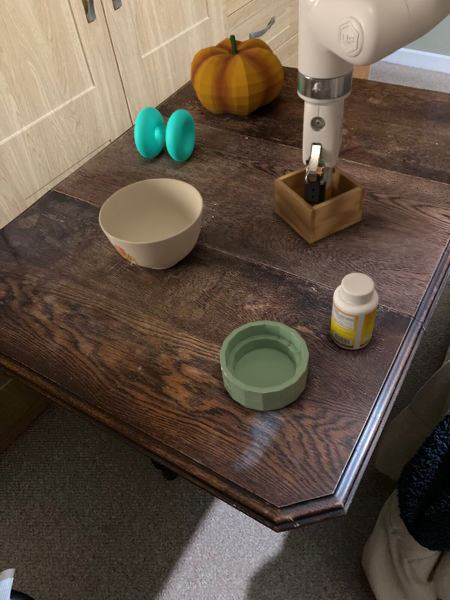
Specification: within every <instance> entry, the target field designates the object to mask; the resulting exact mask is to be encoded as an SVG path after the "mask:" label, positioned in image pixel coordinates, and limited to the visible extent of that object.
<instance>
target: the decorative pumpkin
mask: <svg viewBox="0 0 450 600" xmlns="http://www.w3.org/2000/svg"><path fill="white" fill-rule="evenodd" d="M284 80H285V74H284V68H283V65H282V61H280V59H279V57H278V56H277V55H276V54H275V53H274V52H273V49H272V48H271V46H269V44H267V43H266V42H265V41H264V40H262V39H261V38H259V37H258V38H250V39H246V40H243V41H241V40H238V39H236V36H235V35H234V34H230V35H229V37H225V38H224V39H223V40H220V41H219V42H218V43H217V44H216V45H211V46H207V47H205V48H200V49H199V51H198V52H196V53H195V54H194V56H193V58H192V60H191V63H190V81H191V84H192V88H193V90H194V91H195V93H196V97H197V99H198V100H199V101H200V103H201V104H202V105H203V107H204V108H205V109H206V110H207V111H209V112H211V113H212V114H234V115H237V116H248V115H250V114H251V113H254V112H255V111H256V110H258V109H259V108H261V107H263V106H266V105H268V104H270V103H271V102H272V101H274V100H275V99H276V98H277V97H278V96H279V94H281V93H280V92H281V91H282V89H283V85H284Z"/></svg>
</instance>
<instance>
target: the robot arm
mask: <svg viewBox="0 0 450 600" xmlns="http://www.w3.org/2000/svg"><path fill="white" fill-rule="evenodd" d="M449 15H450V0H298V29H297V30H298V31H297V33H298V38H297V39H298V40H297V85H296V86H297V90H296V91H297V92H296V93H297V95H298V97H299V98H301V99H302V100H304V104H303V105H304V107H303V108H304V109H303V125H302V127H303V128H302V163H303V165H304V166H305V167H306V166H307V171H306V180H305V189H304V200H305V201H306V202H307V203H313V204H320V203H323V202H325V191H326V181H324V179H325V171H326V167H330V168H333V167H334V166H337V165H336V164H337V161H338V158H339V154H340V151H341V146H342V141H343V130H344V126H343V125H344V114H345V99H347V98H348V97H349V96H350V95H351V94H352V89H353V81H354V79H353V78H354V70H355V69H354V68H355V66H357V67H358V66H359V67H366V66H371V65H375V63H378V62H380V61H382V60H383V59H386V58H388V57H389V56H390V55H392V54H394V53H396V52H398V51H399V50H400V49H401V50H402V48H404V47H406V46H408V45H410V44H411V43H413V42H415V41H417V40H419V39H421V38H422V37H424V36H426V35H427V34H429V32H431V31H432V30H433V29H434V28H436V27H437V26H438V25H439V24H440V23H441V22H442V21H444V20H445V19H446V18H447V17H448V16H449ZM320 159H323V161H324V162H323V163H319V160H320ZM318 167H322V170H321V176H320V174H318Z"/></svg>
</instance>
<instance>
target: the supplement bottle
mask: <svg viewBox="0 0 450 600" xmlns="http://www.w3.org/2000/svg"><path fill="white" fill-rule="evenodd" d="M378 305H379V293H378V292H377V290H376V289H375V282H374V280H373V279H372V277H370V276H369V275H367V274H365V273H361V272H351V273H348V274H346V275H345V276H344V277H343V278H342V280H341V284H339V286H337V287H336V288H335V290H334V293H333V298H332V308H331V309H332V310H331V319H330V332H329V333H330V337H331V339H332V340H333V342H334V343H335V344H336V345H337V346H339V347H340V348H342V349H346V350H359V349H362V348H364V347H365V346H367V345H368V344H369V343H370V341H371V339H372V336H373V332H374V327H375V323H376V322H375V321H376V316H377V311H378Z"/></svg>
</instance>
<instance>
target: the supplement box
mask: <svg viewBox="0 0 450 600" xmlns="http://www.w3.org/2000/svg"><path fill="white" fill-rule="evenodd" d="M323 162H324V161H323V159H320V160H319V163H323ZM321 170H322V167H318V174H320V176H321ZM332 172H333V168H330V167H326V171H325V179H324V181H326V191H325V201H327V200H329V199H331V187H332ZM308 204H309V205H311V206H312V207H313V206H316V205H318V204H313V203H308Z"/></svg>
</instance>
